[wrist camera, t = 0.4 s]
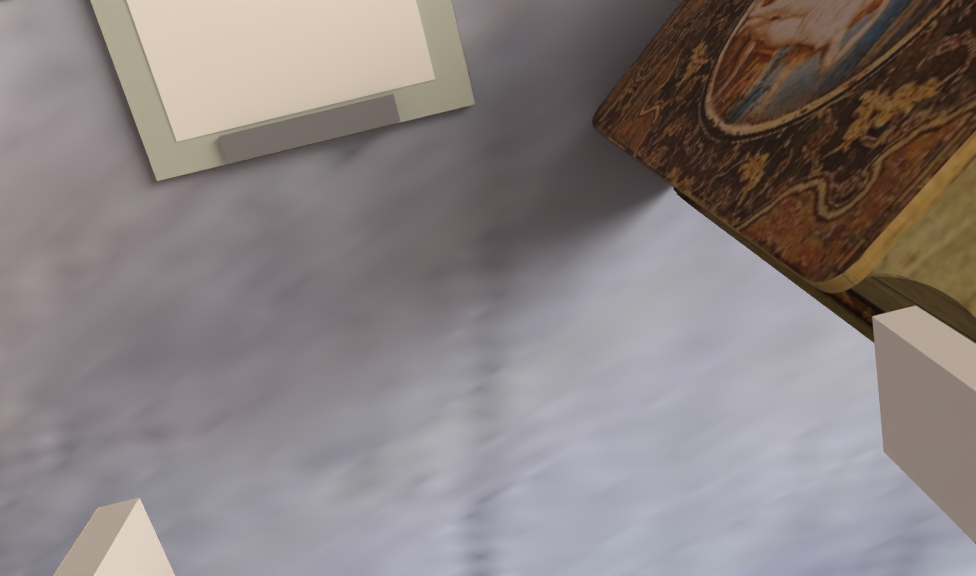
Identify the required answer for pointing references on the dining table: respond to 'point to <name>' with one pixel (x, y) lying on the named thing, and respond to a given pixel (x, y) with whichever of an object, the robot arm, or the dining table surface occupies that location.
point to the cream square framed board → (277, 72)
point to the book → (821, 142)
